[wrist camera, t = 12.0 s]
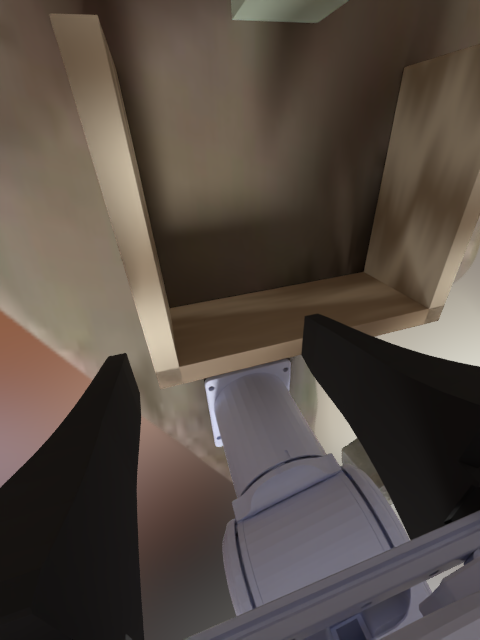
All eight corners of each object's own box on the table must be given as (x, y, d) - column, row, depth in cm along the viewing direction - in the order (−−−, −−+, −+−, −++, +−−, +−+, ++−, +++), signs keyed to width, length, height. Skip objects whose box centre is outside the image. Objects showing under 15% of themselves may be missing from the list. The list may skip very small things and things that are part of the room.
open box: (373, 282, 24) (438, 320, 19) (155, 325, 20) (160, 389, 15) (421, 66, 16) (552, 29, 11) (88, 69, 13) (48, 13, 7)
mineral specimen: (398, 435, 39) (436, 500, 33) (342, 457, 42) (368, 521, 36) (384, 416, 35) (425, 487, 29) (322, 443, 37) (347, 513, 31)
